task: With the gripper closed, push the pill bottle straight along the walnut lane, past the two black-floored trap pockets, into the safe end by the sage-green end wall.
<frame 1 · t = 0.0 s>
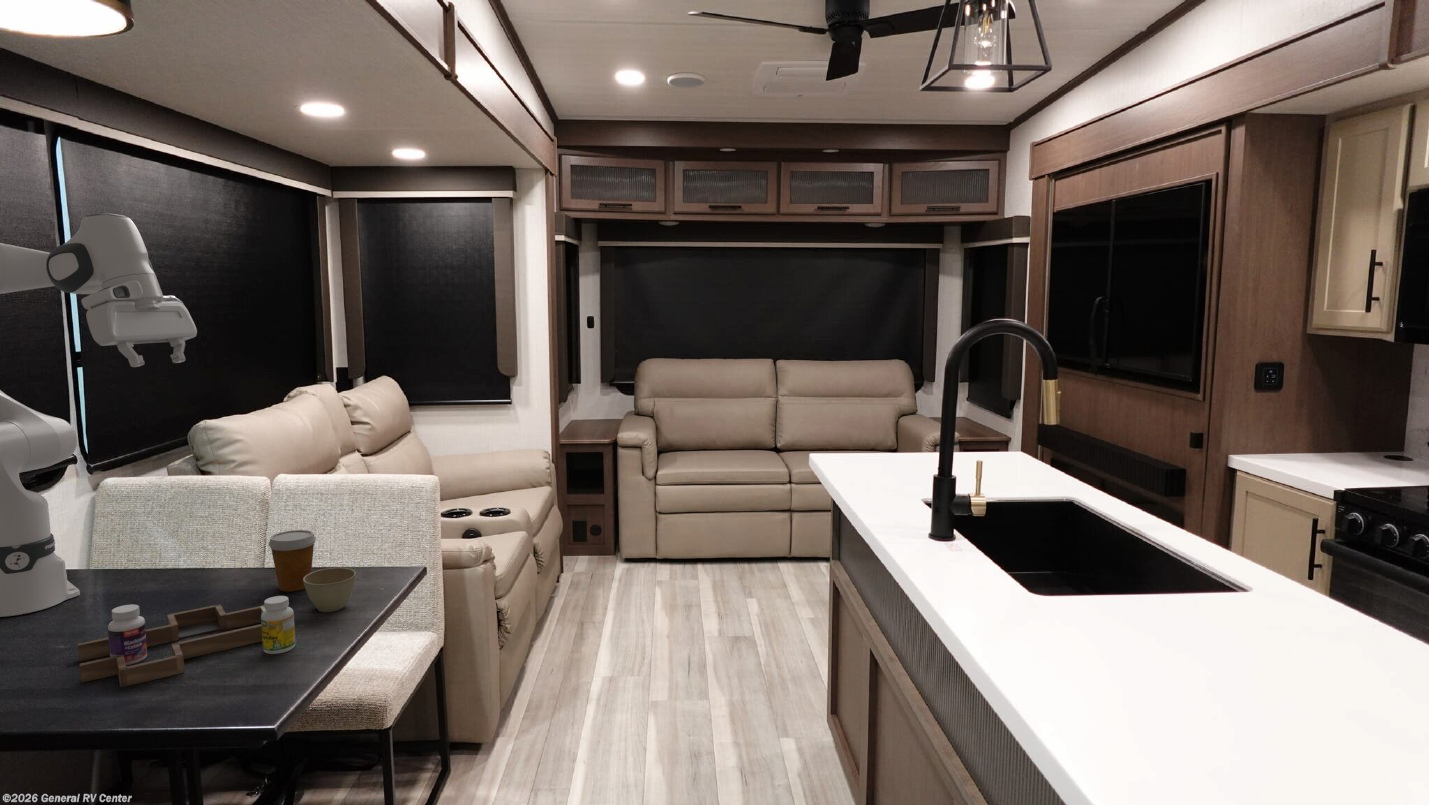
hand: (159, 364, 155), 52 cm above the table, tool tilted 20°, fingers open, 8 cm apart
disposable coffee cup: (294, 587, 181), on the table
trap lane: (188, 646, 150), on the table
pill bottle: (129, 661, 144), resting in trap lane
flower pot: (331, 608, 169), on the table
supplement bottle: (279, 649, 150), on the table
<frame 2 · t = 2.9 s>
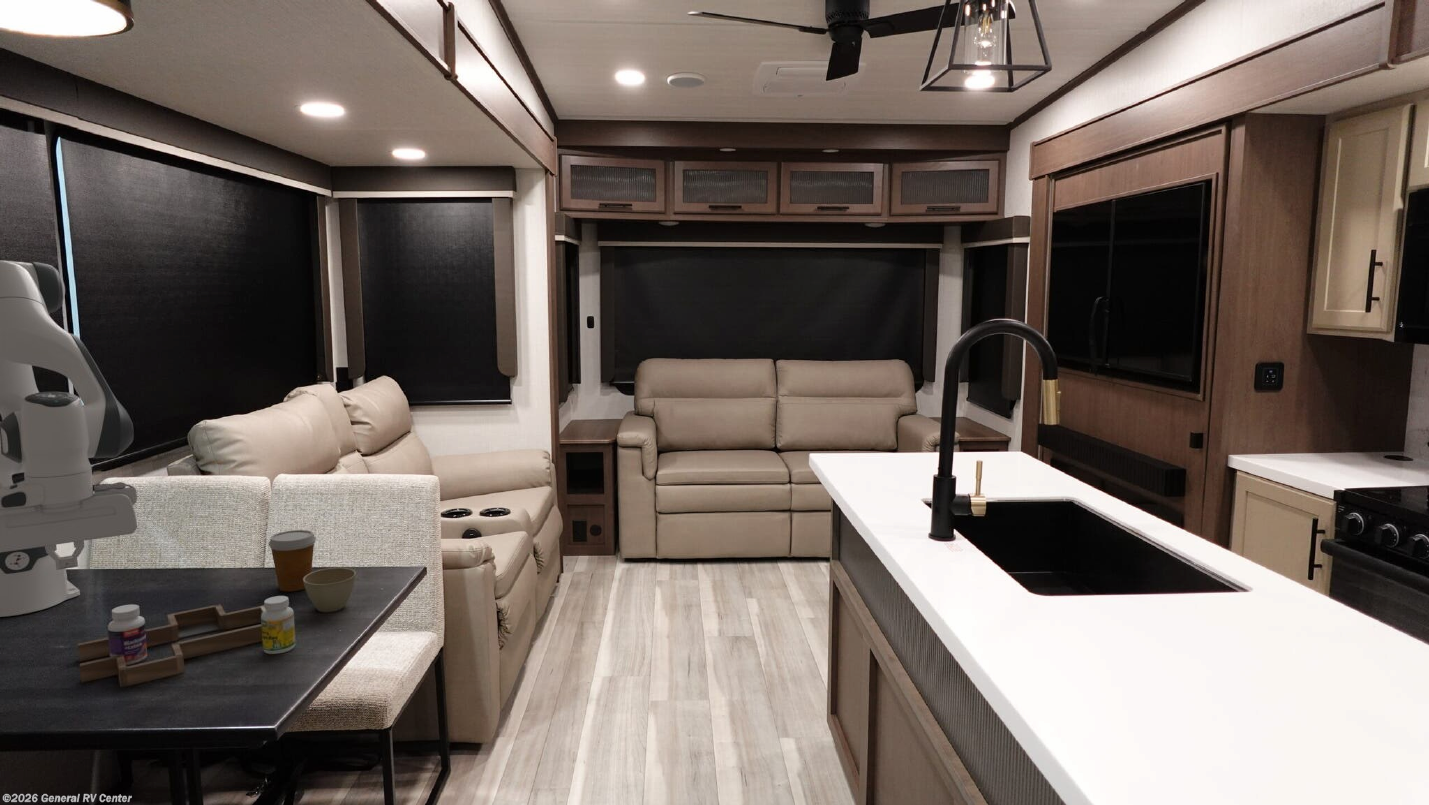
hand: (67, 567, 137), 19 cm above the table, tool pointing down, fingers closed
nothing on the table moved.
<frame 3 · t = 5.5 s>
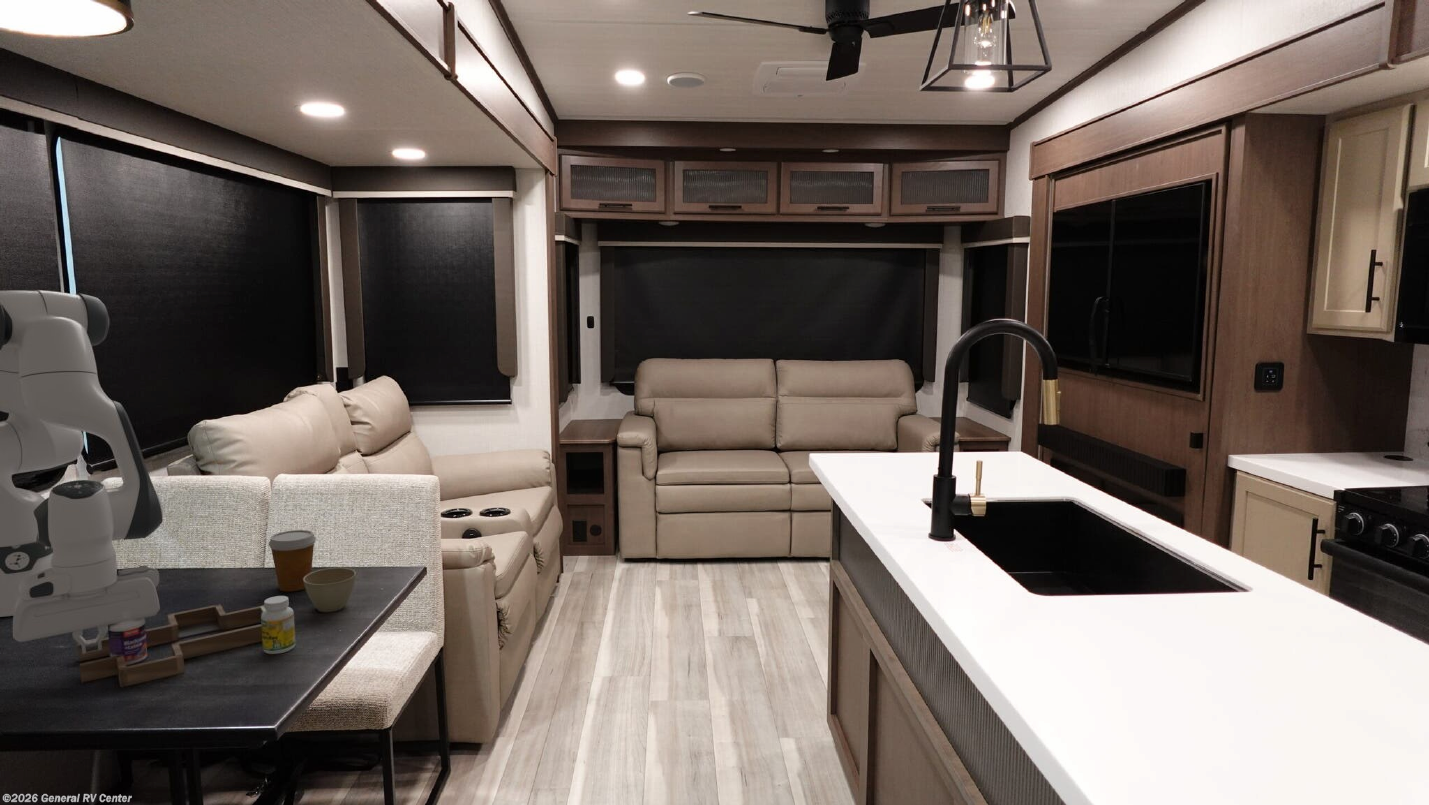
hand: (92, 651, 140), 3 cm above the table, tool pointing down, fingers closed
pill bottle: (129, 661, 144), resting in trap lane, touching gripper
everything else where it was.
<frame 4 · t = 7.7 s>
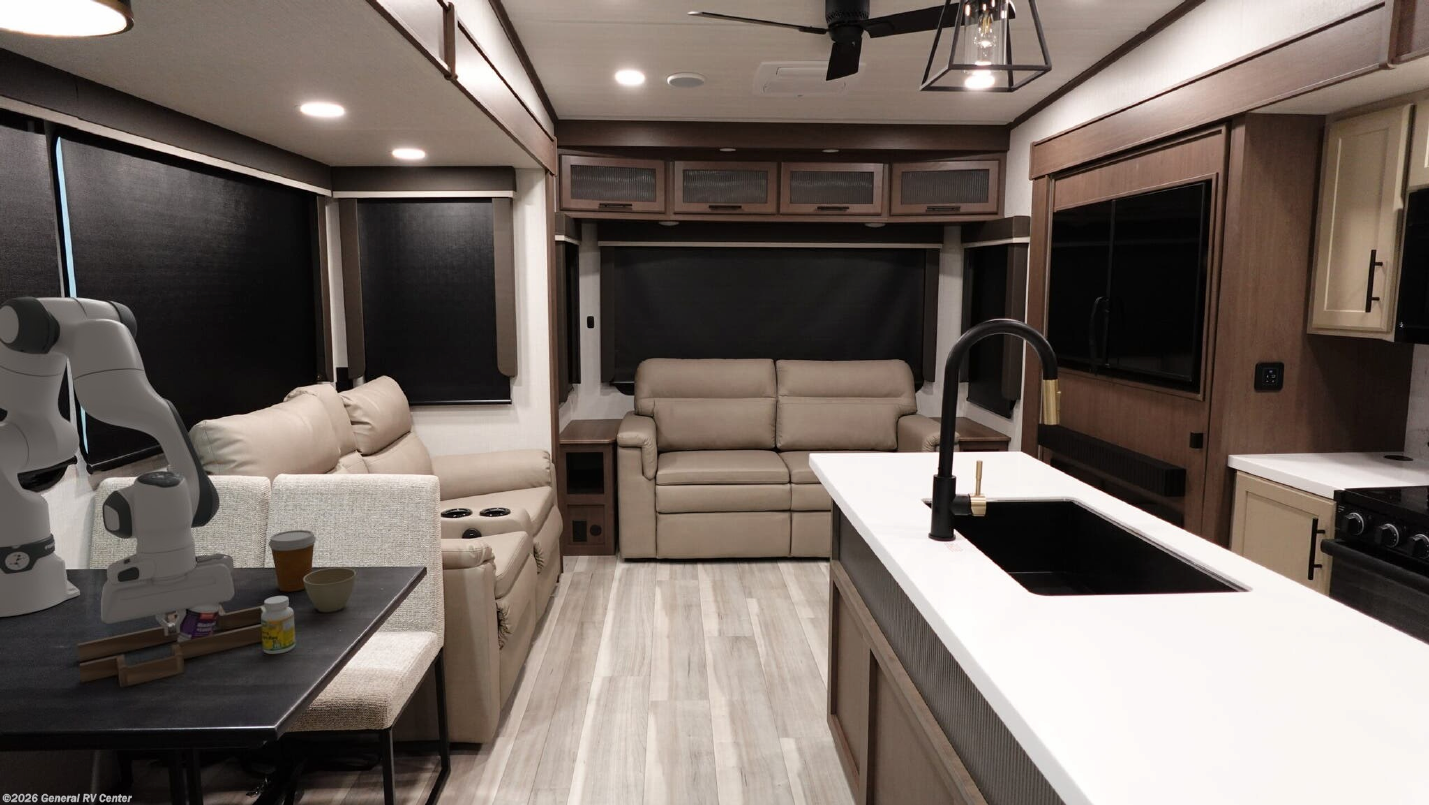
hand: (172, 633, 147), 3 cm above the table, tool pointing down, fingers closed
pill bottle: (193, 643, 150), point 1 cm above the table, touching gripper
everything else where it was.
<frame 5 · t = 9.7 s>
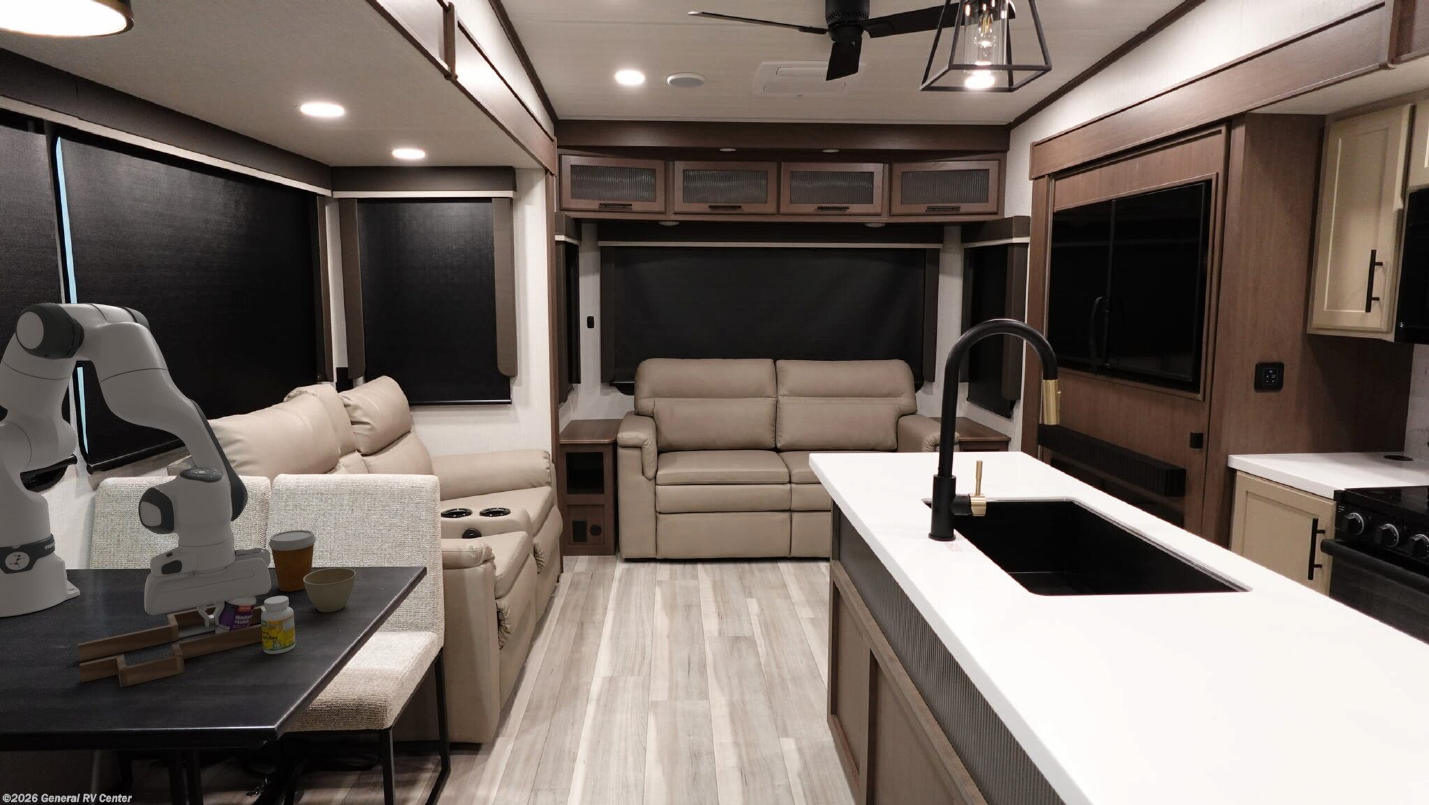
hand: (212, 625, 151), 3 cm above the table, tool pointing down, fingers closed
pill bottle: (230, 635, 154), point 1 cm above the table, touching gripper
everything else where it was.
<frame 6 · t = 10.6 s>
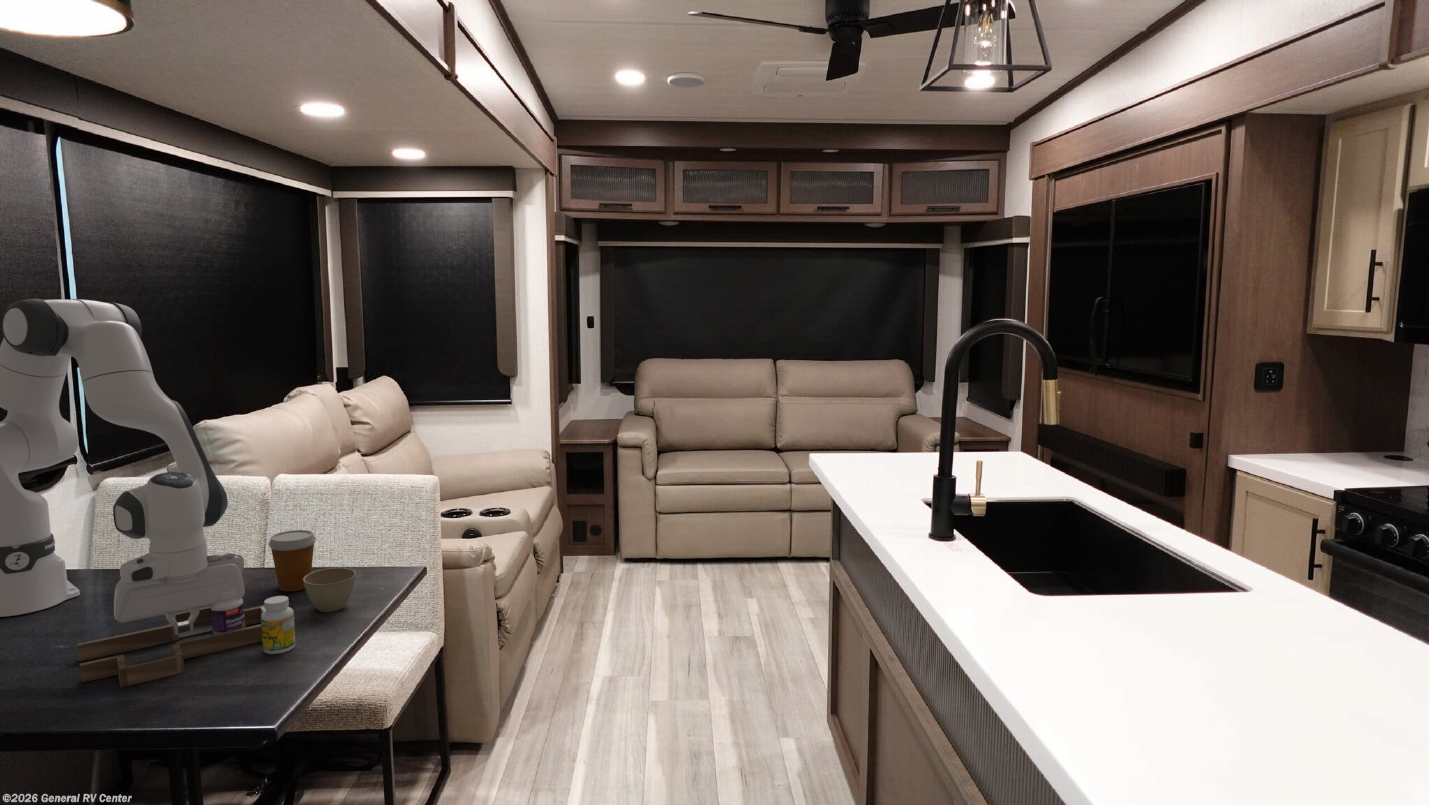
hand: (183, 632, 149), 3 cm above the table, tool pointing down, fingers closed
pill bottle: (230, 638, 154), resting in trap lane
everything else where it was.
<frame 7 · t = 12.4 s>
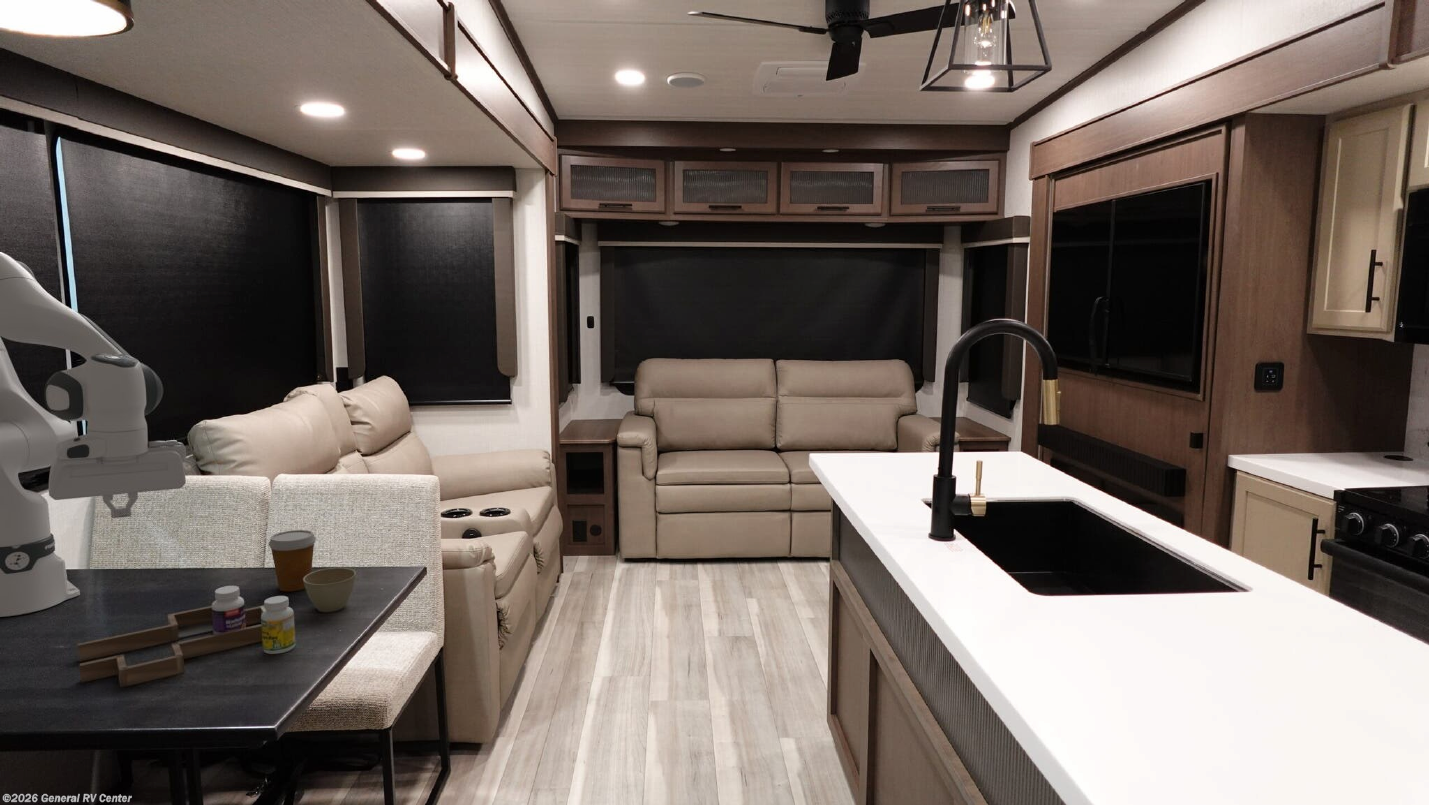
hand: (121, 516, 148), 25 cm above the table, tool pointing down, fingers closed
nothing on the table moved.
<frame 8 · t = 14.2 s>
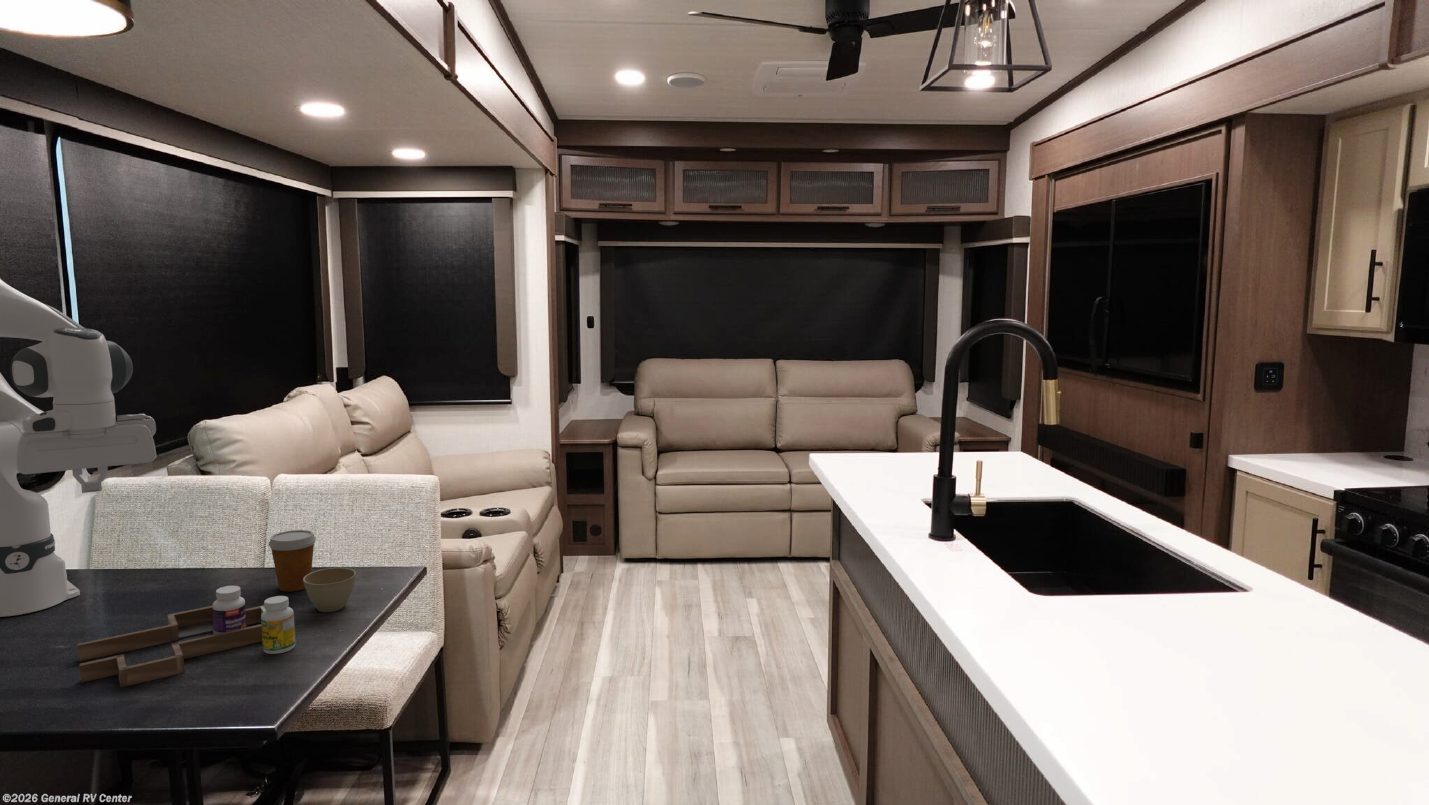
hand: (91, 491, 147), 29 cm above the table, tool pointing down, fingers closed
nothing on the table moved.
at the end: pill bottle 1.7 cm from the target spot, resting in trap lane; pill bottle tilted 2° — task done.
